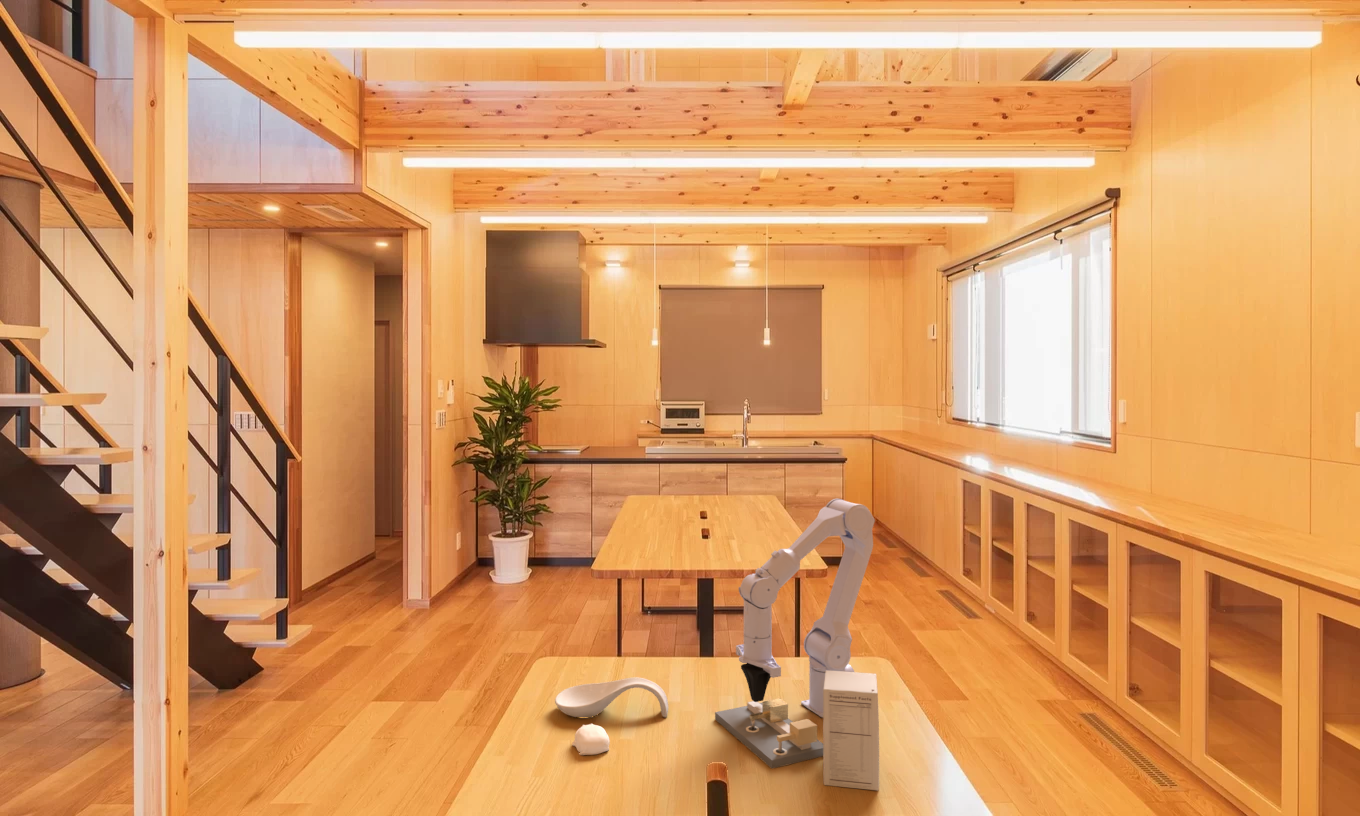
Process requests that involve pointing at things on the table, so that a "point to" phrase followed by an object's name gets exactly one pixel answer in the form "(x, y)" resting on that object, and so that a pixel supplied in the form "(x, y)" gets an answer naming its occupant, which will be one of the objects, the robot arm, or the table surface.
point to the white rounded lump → (591, 740)
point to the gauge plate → (772, 736)
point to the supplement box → (851, 730)
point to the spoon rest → (604, 696)
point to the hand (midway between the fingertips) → (757, 700)
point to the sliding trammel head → (771, 711)
